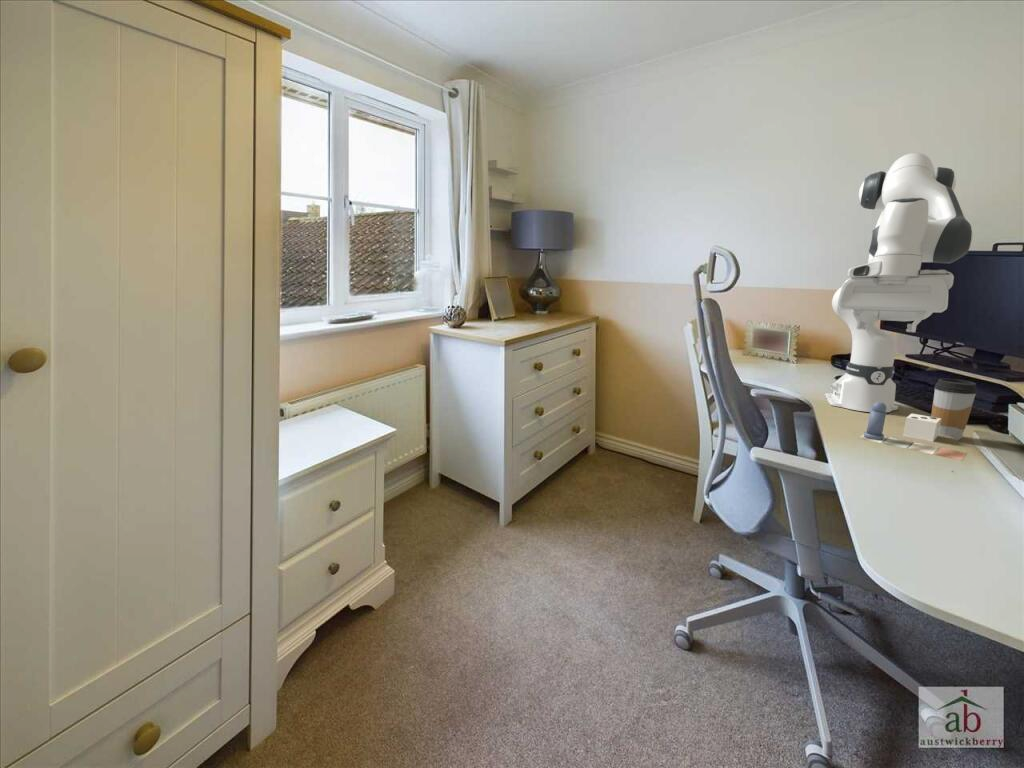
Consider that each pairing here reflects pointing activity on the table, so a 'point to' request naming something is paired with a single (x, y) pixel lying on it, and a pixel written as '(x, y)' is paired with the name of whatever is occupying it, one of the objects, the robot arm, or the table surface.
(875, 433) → the pawn
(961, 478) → the table surface
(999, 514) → the table surface
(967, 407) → the coffee cup
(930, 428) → the die
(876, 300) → the robot arm
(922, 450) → the board
